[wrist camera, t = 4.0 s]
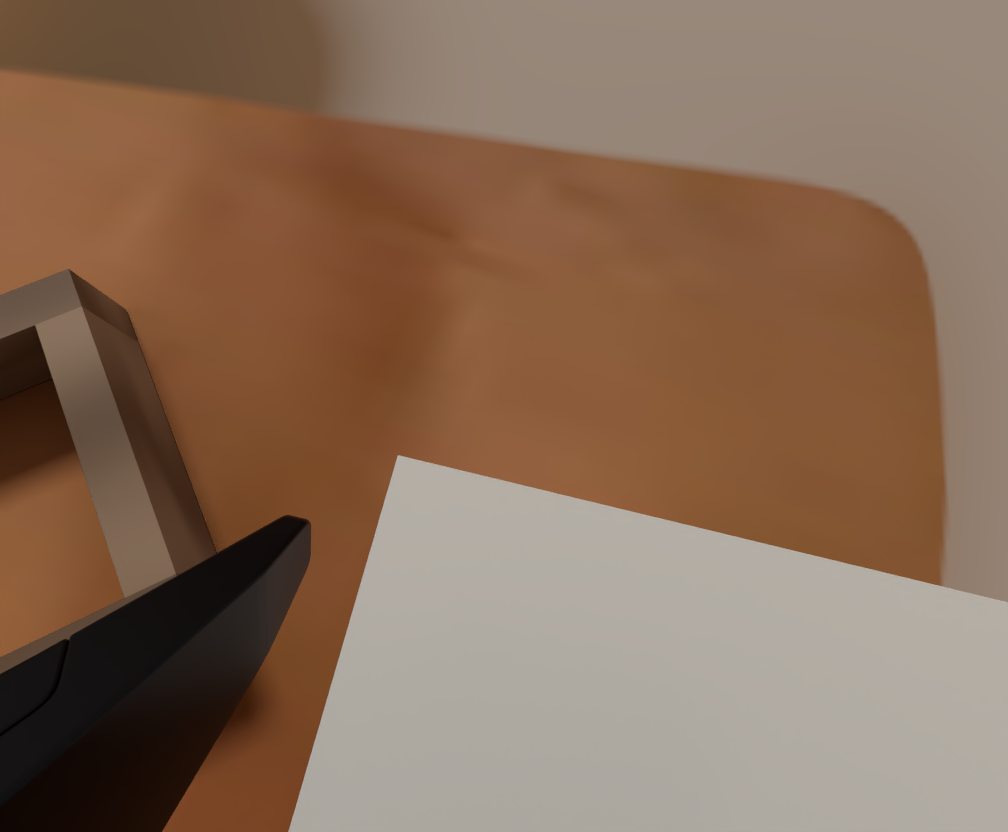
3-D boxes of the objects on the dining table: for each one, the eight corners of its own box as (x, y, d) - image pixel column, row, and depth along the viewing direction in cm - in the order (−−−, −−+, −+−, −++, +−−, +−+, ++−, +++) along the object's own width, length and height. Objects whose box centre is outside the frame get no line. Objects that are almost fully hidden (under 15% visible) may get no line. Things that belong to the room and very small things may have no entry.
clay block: (586, 748, 15) (1042, 1568, 3) (419, 706, 15) (148, 1315, 3) (617, 574, 16) (1034, 609, 4) (462, 536, 16) (397, 455, 4)
